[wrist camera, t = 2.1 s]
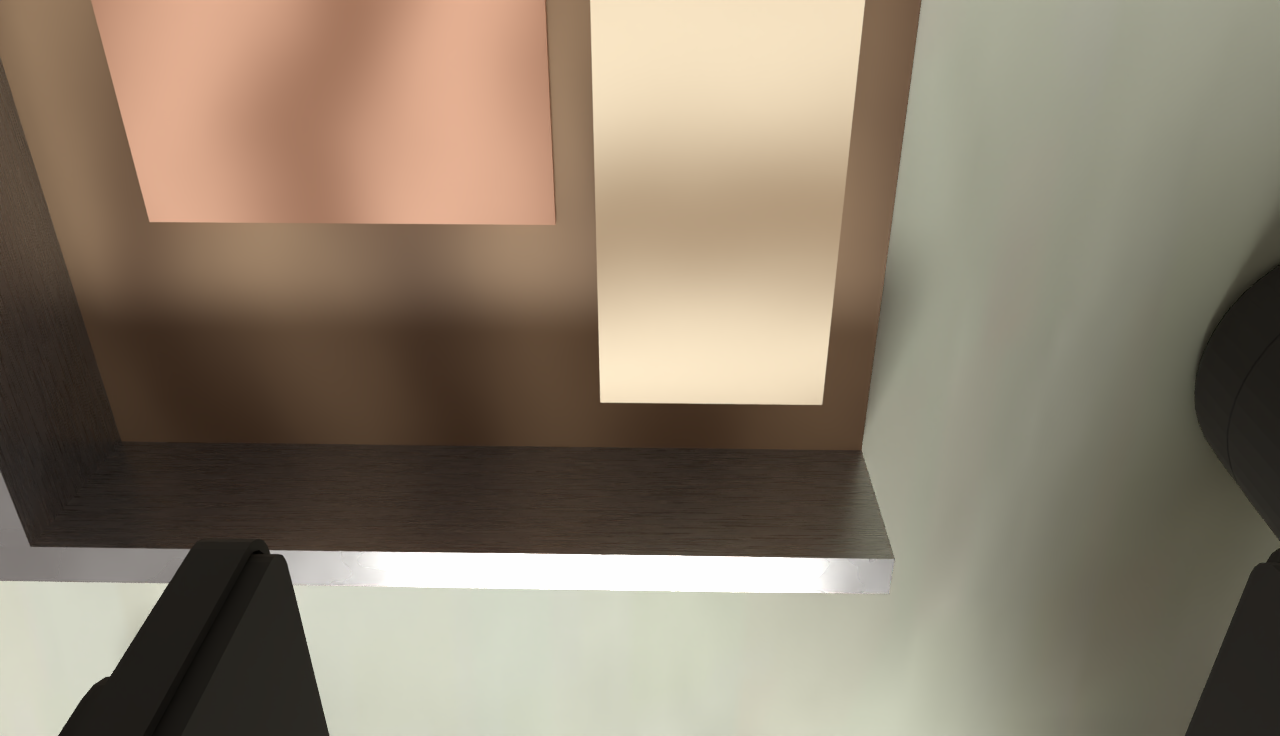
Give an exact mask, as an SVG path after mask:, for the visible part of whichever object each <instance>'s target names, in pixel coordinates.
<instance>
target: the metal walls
mask: <svg viewBox="0 0 1280 736" xmlns="http://www.w3.org/2000/svg"><path fill="white" fill-rule="evenodd" d="M203 538H217V539H261V540H263V541H264V542H265V543H266V544H267V546H268V548H269V551H270V554H281V555H283V556H284V558H285V559H286V562H287V564H288V568H289V572H290V576H291V580H292V584H293V585H322V586H389V587H455V588H522V589H589V590H656V591H722V592H789V593H856V594H889V591H890V585H891V579H892V573H893V567H894V561H895V558H894V555H893V552H892V548H891V545H890V542H889V539H888V535H887V532H886V529H885V526H884V522H883V519H882V516H881V513H880V509H879V506H878V503H877V499H876V496H875V493H874V490H873V486H872V483H871V480H870V477H869V473H868V470H867V467H866V464H865V460H864V457H863V454H862V451H861V450H792V449H708V448H624V447H541V446H457V445H373V444H289V443H205V442H122V441H121V438H120V435H119V431H118V428H117V425H116V422H115V419H114V416H113V412H112V409H111V406H110V403H109V400H108V397H107V393H106V390H105V387H104V384H103V381H102V378H101V374H100V371H99V368H98V365H97V362H96V358H95V355H94V352H93V349H92V346H91V343H90V339H89V336H88V333H87V330H86V327H85V324H84V320H83V317H82V314H81V311H80V308H79V305H78V301H77V298H76V295H75V292H74V289H73V286H72V282H71V279H70V276H69V273H68V270H67V267H66V263H65V260H64V257H63V254H62V251H61V248H60V244H59V241H58V238H57V235H56V232H55V229H54V225H53V222H52V219H51V216H50V213H49V210H48V206H47V203H46V200H45V197H44V194H43V191H42V187H41V184H40V181H39V178H38V175H37V172H36V168H35V165H34V162H33V159H32V156H31V153H30V149H29V146H28V143H27V140H26V137H25V134H24V130H23V127H22V124H21V121H20V118H19V115H18V111H17V108H16V105H15V102H14V99H13V96H12V92H11V89H10V86H9V83H8V80H7V77H6V73H5V70H4V67H3V64H2V61H1V58H0V581H55V582H122V583H169V582H170V581H171V579H172V578H173V576H174V575H175V573H176V571H177V570H178V568H179V567H180V565H181V563H182V562H183V560H184V559H185V557H186V555H187V554H188V552H189V551H190V549H191V548H192V547H193V546H194V544H195V543H196V542H197V541H199V540H201V539H203Z"/></svg>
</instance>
